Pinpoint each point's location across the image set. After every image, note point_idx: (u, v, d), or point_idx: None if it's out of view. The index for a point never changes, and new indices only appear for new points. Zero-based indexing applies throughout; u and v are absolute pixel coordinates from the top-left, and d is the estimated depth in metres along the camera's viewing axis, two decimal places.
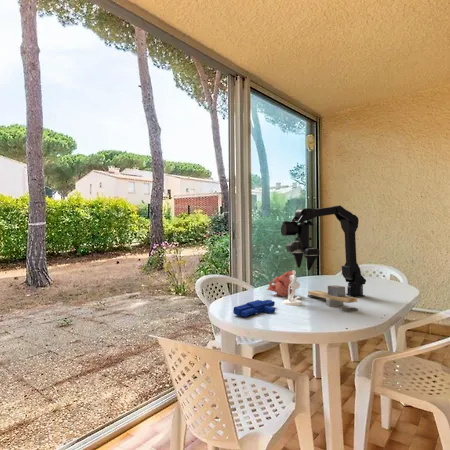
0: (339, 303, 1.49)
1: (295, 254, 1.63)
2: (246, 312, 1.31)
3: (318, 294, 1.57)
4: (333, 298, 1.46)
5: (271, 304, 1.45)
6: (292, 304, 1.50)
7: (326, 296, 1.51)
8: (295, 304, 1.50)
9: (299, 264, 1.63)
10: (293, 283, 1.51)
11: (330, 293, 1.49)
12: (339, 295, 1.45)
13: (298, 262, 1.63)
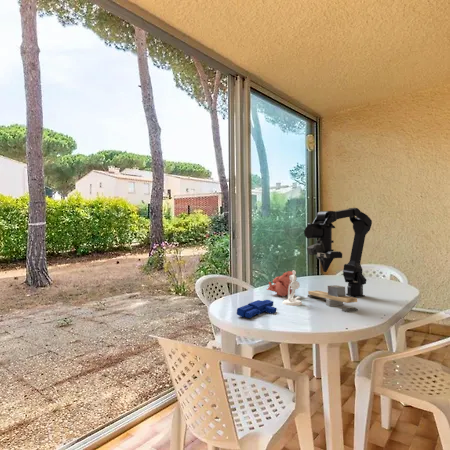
0: (339, 303, 1.49)
1: None
2: (250, 313, 1.30)
3: (318, 294, 1.57)
4: (333, 298, 1.46)
5: (270, 304, 1.45)
6: (292, 304, 1.50)
7: (326, 296, 1.51)
8: (295, 304, 1.50)
9: None
10: (293, 283, 1.51)
11: (330, 293, 1.49)
12: (339, 295, 1.45)
13: None
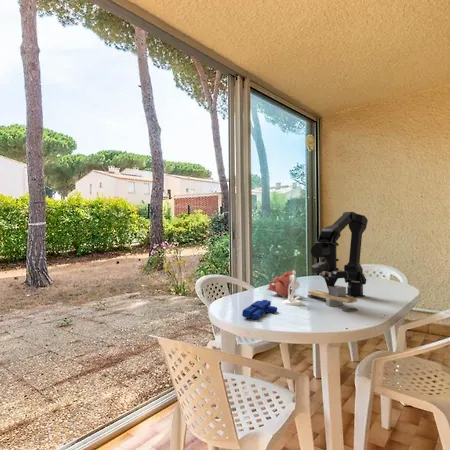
0: (339, 303, 1.49)
1: None
2: (257, 314, 1.29)
3: (318, 294, 1.57)
4: (333, 298, 1.46)
5: (269, 304, 1.45)
6: (292, 304, 1.50)
7: (326, 296, 1.51)
8: (295, 304, 1.50)
9: None
10: (293, 283, 1.51)
11: (331, 293, 1.49)
12: (340, 295, 1.44)
13: None
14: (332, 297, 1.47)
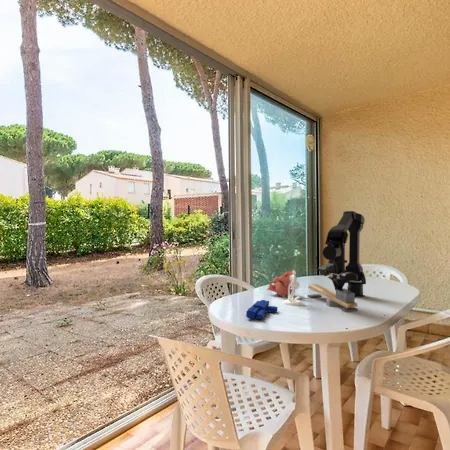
0: None
1: (334, 279, 1.47)
2: (262, 314, 1.28)
3: (318, 291, 1.57)
4: (333, 299, 1.46)
5: (268, 304, 1.46)
6: (292, 304, 1.50)
7: (326, 295, 1.51)
8: (295, 304, 1.50)
9: None
10: (293, 283, 1.51)
11: (338, 297, 1.43)
12: (348, 301, 1.39)
13: None
14: (332, 298, 1.47)
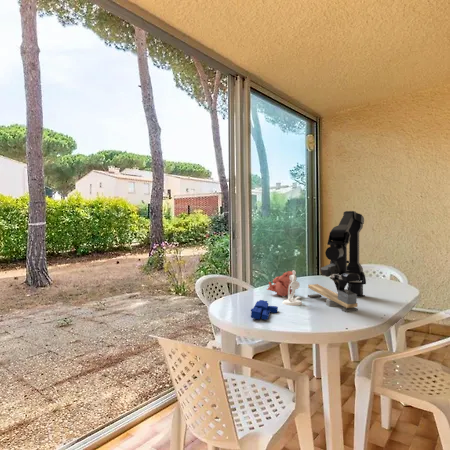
0: None
1: (336, 279, 1.46)
2: (267, 314, 1.28)
3: (318, 291, 1.57)
4: (333, 299, 1.46)
5: None
6: (292, 304, 1.50)
7: (326, 295, 1.51)
8: (295, 304, 1.50)
9: None
10: (293, 283, 1.51)
11: (340, 298, 1.42)
12: (350, 302, 1.38)
13: None
14: (332, 298, 1.47)
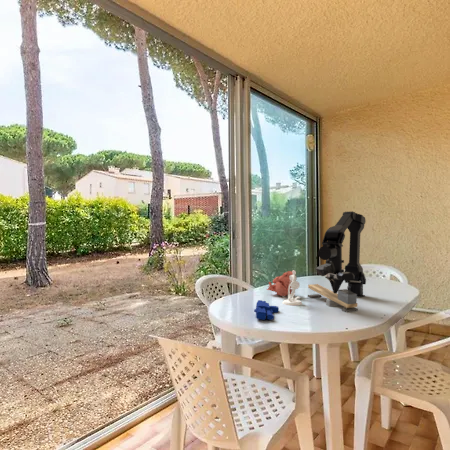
0: None
1: (331, 278, 1.49)
2: None
3: (318, 291, 1.57)
4: (333, 299, 1.46)
5: None
6: (292, 304, 1.50)
7: (326, 295, 1.51)
8: (295, 304, 1.50)
9: None
10: (293, 283, 1.51)
11: (340, 298, 1.42)
12: (350, 302, 1.38)
13: None
14: (332, 298, 1.47)
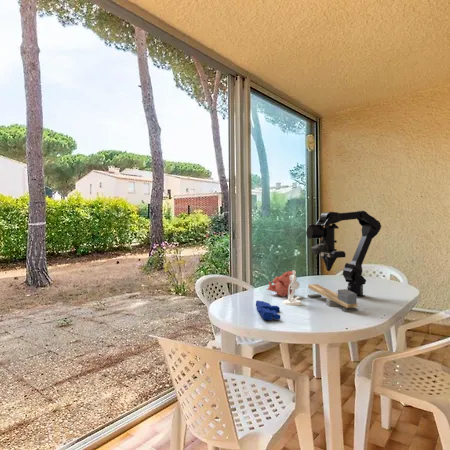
0: None
1: (325, 257, 1.63)
2: None
3: (318, 291, 1.57)
4: (333, 299, 1.46)
5: None
6: (292, 304, 1.50)
7: (326, 295, 1.51)
8: (295, 304, 1.50)
9: None
10: (293, 283, 1.51)
11: (340, 298, 1.42)
12: (350, 302, 1.38)
13: None
14: (332, 298, 1.47)
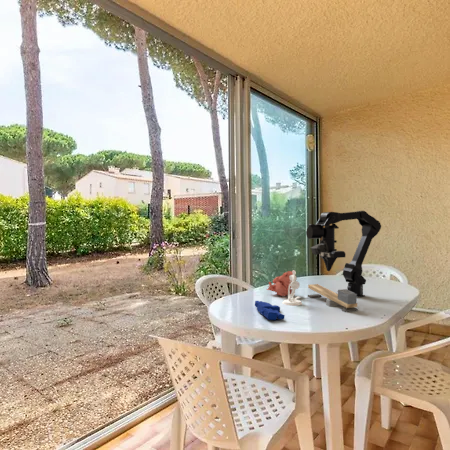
0: None
1: (325, 257, 1.63)
2: (282, 314, 1.28)
3: (318, 291, 1.57)
4: (333, 299, 1.46)
5: None
6: (292, 304, 1.50)
7: (326, 295, 1.51)
8: (295, 304, 1.50)
9: None
10: (293, 283, 1.51)
11: (340, 298, 1.42)
12: (350, 302, 1.38)
13: None
14: (332, 298, 1.47)
